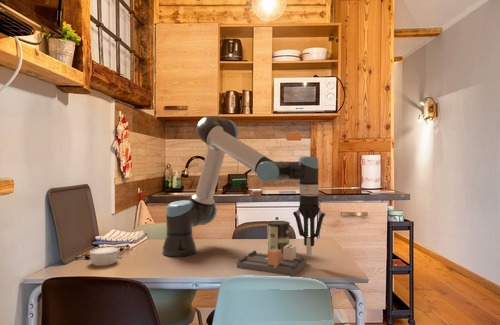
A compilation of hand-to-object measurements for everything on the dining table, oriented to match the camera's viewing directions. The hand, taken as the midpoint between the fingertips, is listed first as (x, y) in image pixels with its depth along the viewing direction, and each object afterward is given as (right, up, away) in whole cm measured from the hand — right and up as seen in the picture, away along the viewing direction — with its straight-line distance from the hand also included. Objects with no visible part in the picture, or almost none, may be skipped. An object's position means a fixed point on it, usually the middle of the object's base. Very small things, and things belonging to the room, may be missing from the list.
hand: (309, 253), depth 137 cm
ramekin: (-84, -5, +5) cm, 85 cm away
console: (-15, -5, +2) cm, 16 cm away
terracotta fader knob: (-14, -3, -3) cm, 15 cm away
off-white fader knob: (-7, -3, +3) cm, 9 cm away
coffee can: (-11, -5, +21) cm, 24 cm away
